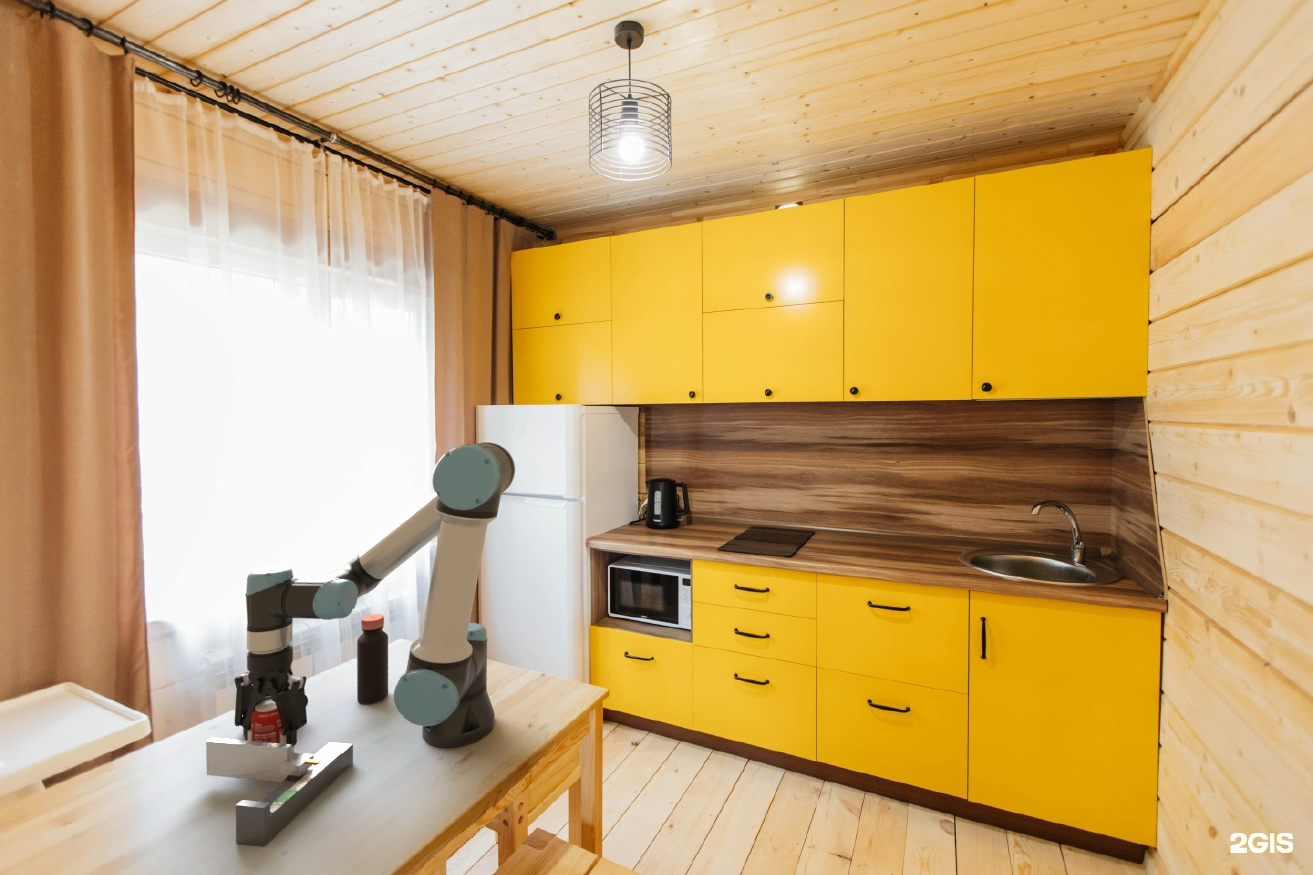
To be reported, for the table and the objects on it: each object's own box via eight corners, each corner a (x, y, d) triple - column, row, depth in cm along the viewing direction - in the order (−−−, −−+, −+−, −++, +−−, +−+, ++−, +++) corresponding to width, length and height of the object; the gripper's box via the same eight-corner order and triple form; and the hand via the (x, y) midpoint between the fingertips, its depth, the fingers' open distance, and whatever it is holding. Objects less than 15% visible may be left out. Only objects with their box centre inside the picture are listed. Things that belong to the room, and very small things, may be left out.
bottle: (353, 697, 139) (353, 616, 138) (383, 688, 144) (383, 610, 143) (361, 707, 134) (361, 624, 133) (392, 698, 138) (391, 618, 138)
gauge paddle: (325, 776, 105) (325, 743, 104) (311, 789, 101) (311, 754, 101) (218, 766, 107) (217, 733, 107) (200, 779, 104) (200, 744, 103)
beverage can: (283, 749, 117) (283, 692, 116) (295, 762, 113) (294, 703, 112) (247, 763, 112) (246, 704, 111) (257, 777, 108) (257, 715, 107)
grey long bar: (352, 763, 113) (352, 732, 112) (264, 846, 91) (264, 807, 90) (329, 761, 113) (329, 730, 113) (236, 843, 91) (235, 804, 91)
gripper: (328, 641, 114) (329, 753, 115) (241, 636, 116) (242, 746, 117) (301, 657, 107) (302, 777, 108) (209, 651, 109) (210, 768, 110)
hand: (271, 760), depth 112 cm, fingers closed on beverage can, 6 cm apart
